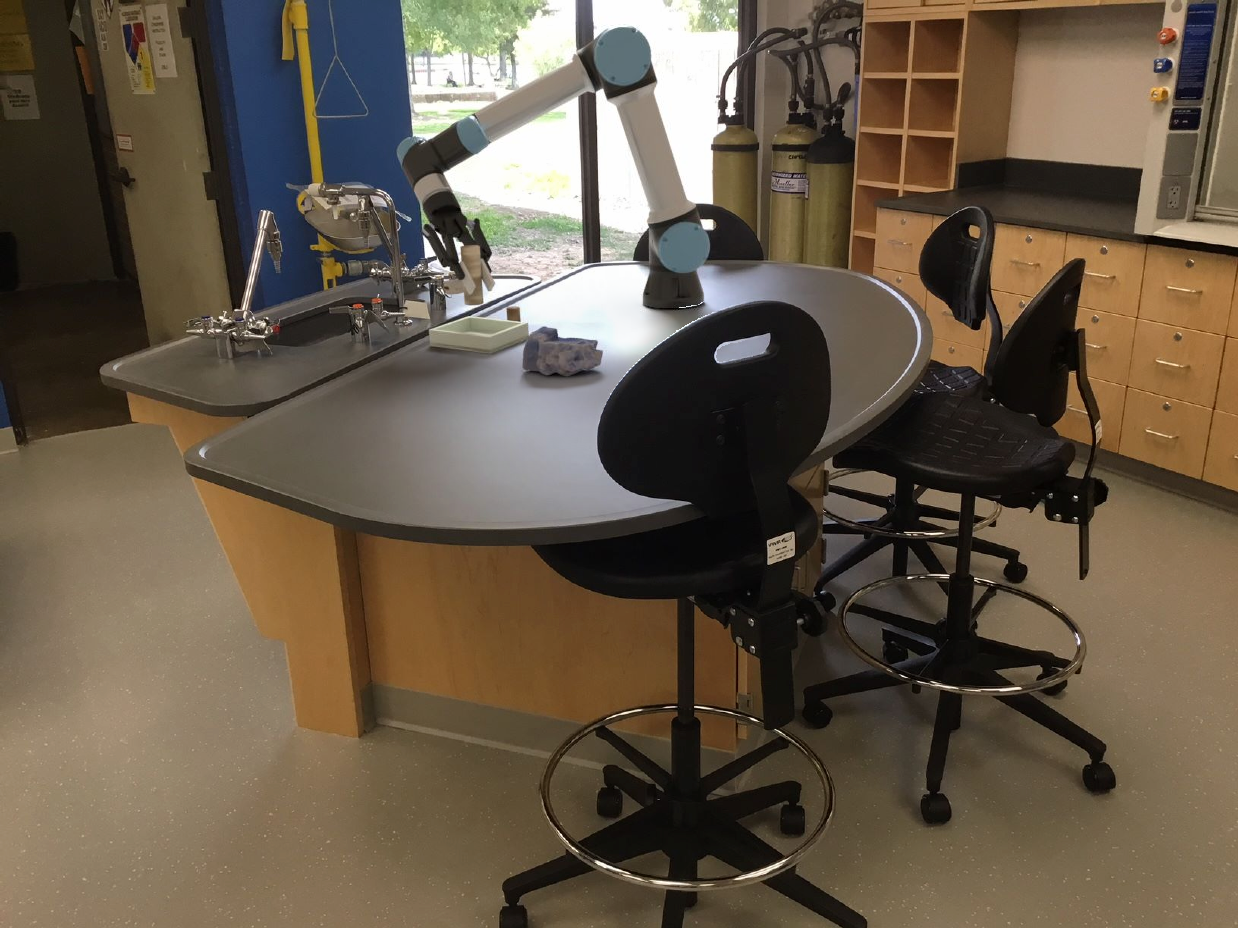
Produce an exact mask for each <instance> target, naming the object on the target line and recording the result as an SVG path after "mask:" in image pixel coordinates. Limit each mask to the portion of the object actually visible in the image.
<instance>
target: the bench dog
mask: <svg viewBox="0 0 1238 928" xmlns="http://www.w3.org/2000/svg"><path fill="white" fill-rule="evenodd" d="M505 309H506V310H505V311H506V320H509V321H518V322H522V321H521V319H522V318H521V307H520V306H516V305H515V306H507V307H506V308H505Z"/></svg>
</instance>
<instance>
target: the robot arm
mask: <svg viewBox="0 0 1238 928" xmlns="http://www.w3.org/2000/svg"><path fill="white" fill-rule="evenodd" d="M658 82H659V81H658V78H657V76H656V71H655V68H654V65H653V61H652V49H651V45H650V42H649V41H648V39H647V38H646V36H645V35H644V33H642V32H641V31H640V30H639V29H638V28H636V27H634V26H632V25H629V24H621V23H620V24H616V25H611V26H610V27H608V28H605V29H604V30H603V31H602V32H600V33H599V34H598V35H597V37H595V38H594V39H593V40H592V41H590V42H589V43H587V44H586V45H585V46H584V47H581V48H580V49H578V50H576V51H574V53H573V55H572V59H570V60H568V61H565V63H563V64H560V65H559V66H558V67H555V68H553V69H551V70H549V71H548V72H546V73H544V74H542V75H541V76H539V77H537V78H535V79H533V80H531V81H530V82H528V83H526V84H524V85H522V86H520V87H519V88H517V89H515V90H513V91H511V92H509V93H508V94H506V95H504V96H502V97H500V98H498V99H496V100H495V101H493V102H492V103H489V104H488V105H486V106H484V107H482V108H480V109H478V110H477V111H474V112H473V113H472V114H469V115H467V116H465V117H464V118H461V119H460V120H457V121H455V122H454V123H452V124H451V125H450V126H449V127H447V128H446V129H444V130H443V131H441V132H440V133H437V134H436V135H435V136H433V137H430V138H429V139H426V137H423V136H421V135H414V136H412V137H407V138H405V139H403V140H402V141H401V142H400V143H399V145H398V146H397V148H396V155H397V159H398V161H399V163H400V167H401V169H402V171H403V173H404V175H405V176H406V179H407V180H408V183H409V184H410V187H411V189H412V191H413V193H414V194H415V196H416V198H417V201H418V203H419V204H420V207H421V208H422V211H423V213H424V215H425V217H426V219H427V222H428V223H429V224H428V223H424V225H423V227H422V230H421V232H420V233H421V235H422V236H423V237H424V238H425V239H426V240H427V241H428V243H429V245H430V248H431V249H432V251H433V252H434V254H435V256H436V258H437V260H438V262H439V264H440V265H441V267H442V268H444V269H445V268H449V271H451V272H454V275H455V276H456V279H457V280H458V281H461V282H462V285H463V284H464V286H465V288H466V290H467V292H468V294H472V293H473V291H474V289H475V287H476V285H475V283H474V281H473V279H472V277H471V275H470V273H469V271H468V269H467V267H466V265H465V263H464V262H463V261H460V259H459V254H458V250H457V247H456V243H455V239H456V240H458V242H459V243H461V244H463V245H462V246H465V245H478V246H480V258H481V273H482V283H483V284H484V286H485V288H486V290H487V292H491V291H493V288H494V287H495V285H496V282H495V280H494V278H493V276H492V272H493V271H492V268H491V266H490V264H489V262H490V259H491V257H492V255H493V251H492V250H491V246H490V245H489V242H488V241H487V238H486V237H485V236H486V235H485V234H484V232H483V230H482V227H481V221H480V219H479V218H478V217H475V218H474V220H473V219H470V218H468V217H467V216H466V215H465V214H464V213H463V211H462V209H461V205H460V203H459V201H458V199H457V197H456V195H455V193H454V191H453V189H452V187H451V185H450V183H449V182H448V179H447V178H446V175H445V173H446V172H448V171H450V170H452V169H453V168H454V167H456V166H459V165H460V164H462V163H463V162H465V161H466V160H469V159H470V158H472V157H473V156H475V155H478V154H479V153H481V152H482V151H483V150H485V149H486V148H488V146H489V145H491V144H492V143H494V142H495V141H498V140H500V139H501V138H504V137H505V136H507V135H509V134H511V133H512V132H514V131H516V130H518V129H520V128H522V127H524V126H525V125H527V124H529V123H531V122H533V121H535V120H536V119H539V118H541V117H542V116H544V115H546V114H548V113H550V112H551V111H553V110H555V109H558V108H559V107H561V106H563V105H565V104H567V103H568V102H570V101H572V100H574V99H575V98H578V97H579V96H581V95H584V94H586V93H587V92H588V93H593V94H595V93H597V92H598V91H601V90H603V93H604V95H605V96H604V97H605V98H606V101H607V102H608V103H610V104H612V105H614V106H615V107H616V109H617V112H618V116H619V118H620V119H619V120H620V122H621V124H622V128H623V130H624V131H623V132H624V134H625V137H626V140H627V143H628V147H629V150H630V152H631V156H632V158H633V162H634V165H635V167H636V171H637V175H638V177H639V180H640V183H641V187H642V190H643V193H644V195H645V199H646V201H647V204H648V208H649V210H650V211H649V213H648V218H647V219H646V223H647V226H648V254H649V255H648V260H649V261H648V264H649V265H648V267H649V269H648V270H649V271H648V276H647V279H646V282H645V286H644V289H643V293H642V304H643V306H645V305H647V306H646V307H648V306H649V308H652V307H654V308H653V309H659V308H679V307H686V306H691V305H698V304H700V303H701V302H703V301H704V302H705V292H704V289H703V286H702V283H701V280H700V277H699V273H698V269H699V268H700V267H702V266H703V265H704V263H705V262H706V261H707V259H708V257H709V254H710V249H711V242H710V237H709V233H707V231H706V229H705V228H704V227H703V223H702V220H701V217H700V214H699V211H698V208H697V204H696V203H694V202H692V201H691V200H689V199H688V198H687V195H686V192H685V189H684V185H683V182H682V180H681V176H680V174H679V173H680V172H679V170H678V166H677V163H676V160H675V157H674V154H673V151H672V150H673V149H672V146H671V144H670V141H669V137H668V134H667V131H666V128H665V125H664V121H663V119H662V114H661V112H660V109H659V106H658V103H657V99H656V96H655V89H656V87H657V85H658ZM470 232H471V234H470ZM439 235H440V237H441V239H440V237H439ZM454 238H455V239H454Z"/></svg>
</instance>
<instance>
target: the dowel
mask: <svg viewBox="0 0 1238 928" xmlns="http://www.w3.org/2000/svg"><path fill="white" fill-rule="evenodd" d="M459 247H460V248H459V249H460V259H461V261H463V262H464V263H465V265H466V267H467V269H468V271H469V273H470V275H471V277H472V279H473V281H474V283H475V285H476V287H475V289H474V291H473V293H472V294H468V292H467V290H466V288H465V286H464V284H463V283H462V287H463V299H464V305H466V306H480V305H483V304H484V303H485V302H484V289H483V280H482V273H481V258H480V246H478V245H465V246H464V245H461V246H459ZM461 261H460V262H461Z"/></svg>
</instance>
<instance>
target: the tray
mask: <svg viewBox="0 0 1238 928" xmlns="http://www.w3.org/2000/svg"><path fill="white" fill-rule="evenodd" d="M529 335H530V334H529V322H527V321H526V322H525V321H521V322H518V321H509V320H507V319H499V318H490V317H489V318H488V317H481V316H480V317H479V316H473V315H472V316H471V315H470V316H469V315H468V316H465V317H462V318H460V319H456V320H454V321H451V322H448V323H445V324H441V325H439V326H436V327H433V328H430V329H428V336H429V346H430V347H436V348H443V349H451V350H457V351H466V352H475V353H482V354H487V355H489V354H490V355H491V354H494V353H497V352H499V351H502V350H504V349H507V348H508V347H511V346H513V345H514V346H515V345H516V344H519V343H521V342H524V341H527V340H528V338H529Z"/></svg>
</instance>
